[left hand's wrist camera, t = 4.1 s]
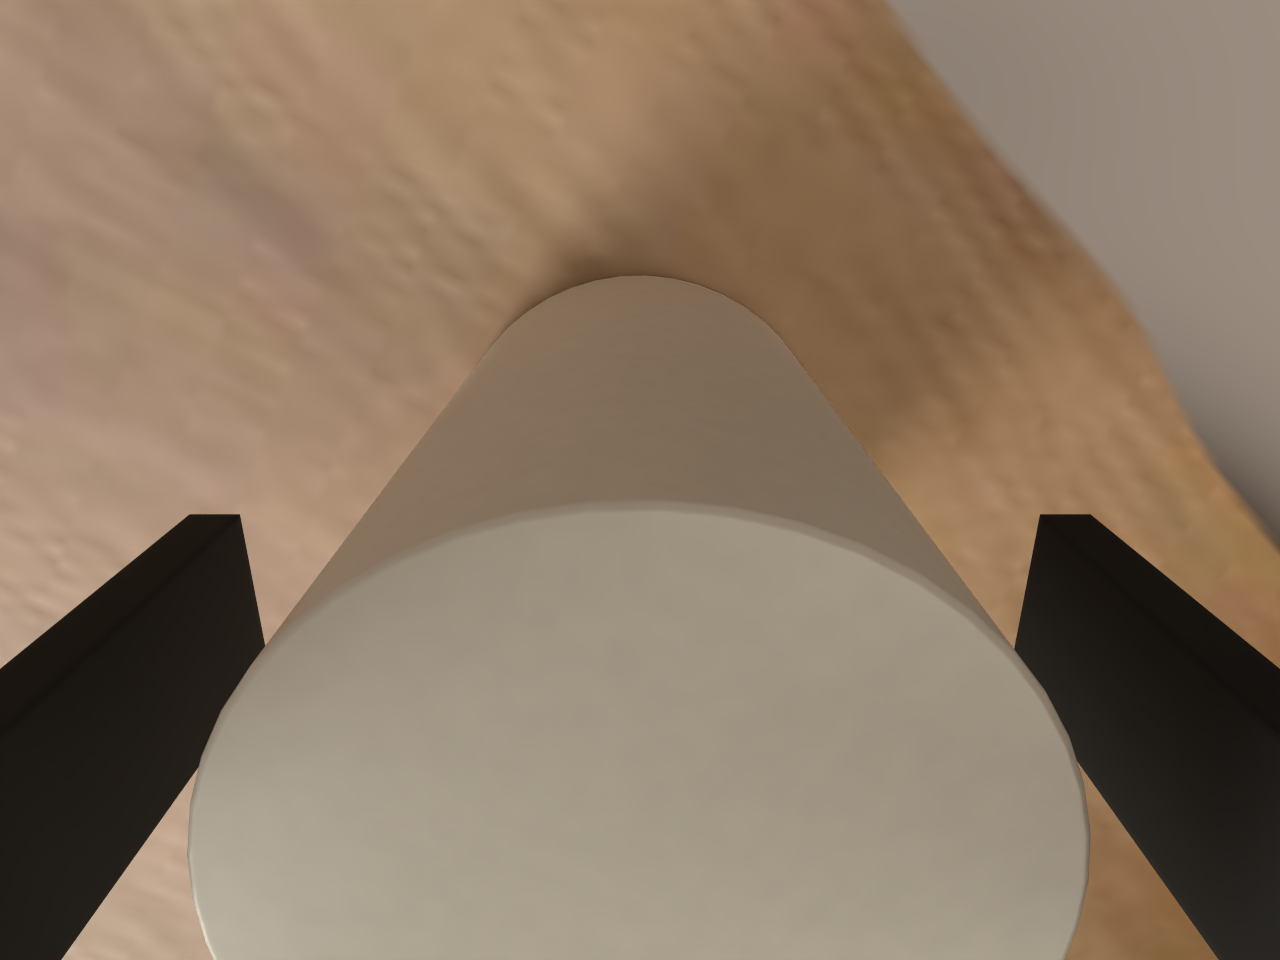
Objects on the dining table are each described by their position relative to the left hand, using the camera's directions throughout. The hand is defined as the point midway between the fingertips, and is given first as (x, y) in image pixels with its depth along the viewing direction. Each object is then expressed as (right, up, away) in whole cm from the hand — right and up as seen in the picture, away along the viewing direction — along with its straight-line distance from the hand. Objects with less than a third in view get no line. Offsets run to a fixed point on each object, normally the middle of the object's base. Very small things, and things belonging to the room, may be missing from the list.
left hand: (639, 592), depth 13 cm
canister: (0, +2, +6) cm, 6 cm away
